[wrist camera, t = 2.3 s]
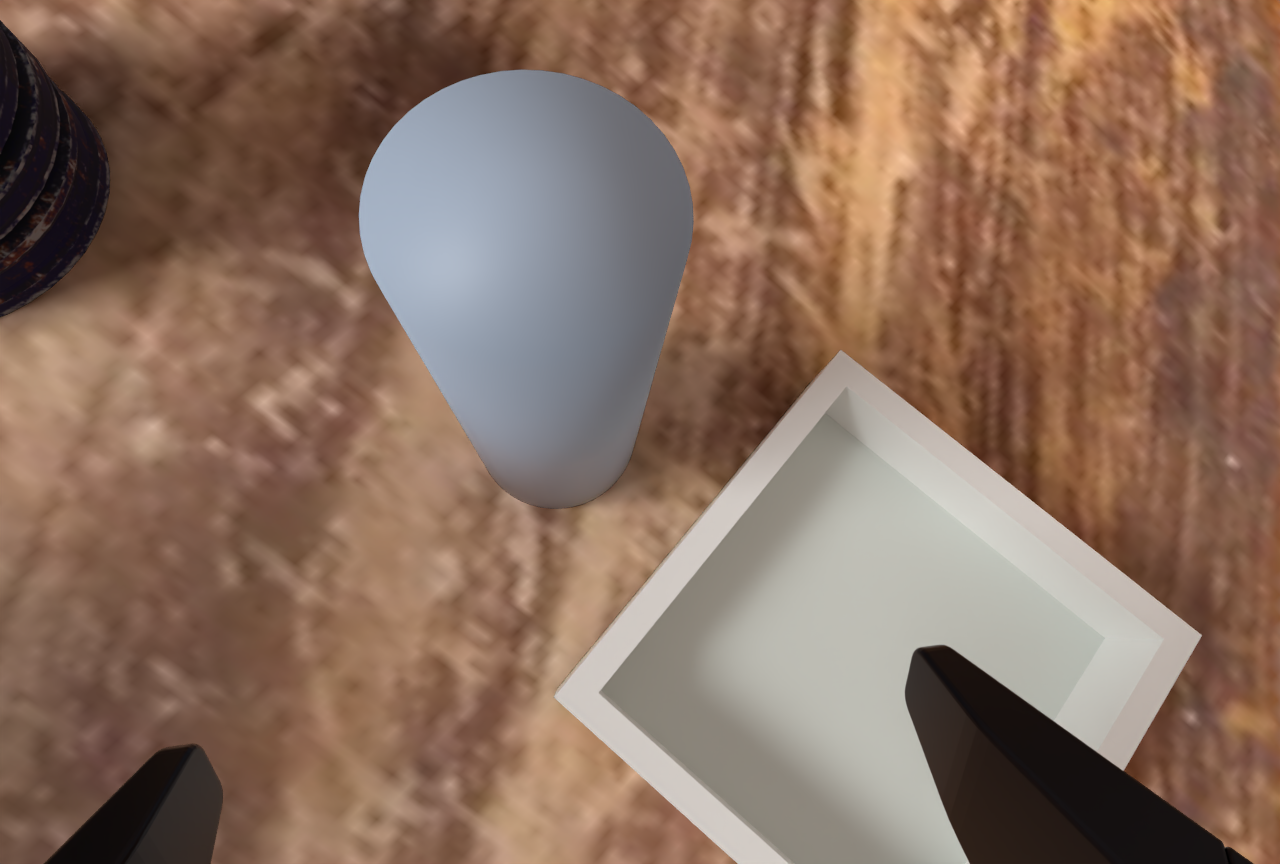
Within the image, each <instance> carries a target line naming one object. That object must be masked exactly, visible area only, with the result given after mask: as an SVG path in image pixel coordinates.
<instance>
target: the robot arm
mask: <svg viewBox="0 0 1280 864" xmlns="http://www.w3.org/2000/svg"><path fill="white" fill-rule="evenodd" d="M905 701H906V705H907V709H908V711H909V714H910V717H911V720H912V722H913V725H914V728H915V730H916V733H917V736H918V739H919V741H920V744H921V747H922V750H923V752H924V755H925V758H926V760H927V763H928V766H929V769H930V771H931V774H932V777H933V779H934V782H935V785H936V788H937V790H938V793H939V796H940V799H941V801H942V804H943V806H944V809H945V811H946V814H947V816H948V819H949V821H950V823H951V826H952V828H953V830H954V832H955V834H956V837H957V839H958V841H959V843H960V845H961V847H962V849H963V851H964V853H965V855H966V857H967V859H968V861H969V863H970V864H1253V863H1252V862H1250V861H1249V860H1248V859H1246V858H1245V857H1243V856H1242V855H1241V854H1239V853H1238V852H1236V851H1235V850H1234V849H1232V848H1230V847H1224V844H1223V843H1222V841H1221V840H1219V839H1218V838H1216V837H1215V836H1214V835H1212V834H1211V833H1209V832H1208V831H1207V830H1205V829H1204V828H1202V827H1201V826H1200V825H1198V824H1197V823H1195V822H1194V821H1193V820H1191V819H1190V818H1188V817H1187V816H1186V815H1184V814H1183V813H1182V812H1180V811H1179V810H1177V809H1176V808H1175V807H1173V806H1172V805H1170V804H1169V803H1168V802H1166V801H1165V800H1163V799H1162V798H1161V797H1159V796H1158V795H1156V794H1155V793H1154V792H1152V791H1151V790H1149V789H1148V788H1147V787H1145V786H1144V785H1142V784H1141V783H1140V782H1138V781H1137V780H1135V779H1134V778H1133V777H1131V776H1130V775H1128V774H1127V773H1126V772H1124V771H1123V770H1121V769H1120V768H1119V767H1117V766H1116V765H1114V764H1113V763H1112V762H1110V761H1109V760H1107V759H1106V758H1105V757H1103V756H1102V755H1100V754H1099V753H1098V752H1096V751H1095V750H1094V749H1092V748H1091V747H1089V746H1088V745H1087V744H1085V743H1084V742H1082V741H1081V740H1080V739H1078V738H1077V737H1075V736H1074V735H1073V734H1071V733H1070V732H1068V731H1067V730H1066V729H1064V728H1063V727H1061V726H1060V725H1059V724H1057V723H1056V722H1054V721H1053V720H1052V719H1050V718H1049V717H1047V716H1046V715H1045V714H1043V713H1042V712H1040V711H1039V710H1038V709H1036V708H1035V707H1033V706H1032V705H1031V704H1029V703H1028V702H1026V701H1025V700H1024V699H1022V698H1021V697H1019V696H1018V695H1017V694H1015V693H1014V692H1013V691H1011V690H1010V689H1008V688H1007V687H1006V686H1004V685H1003V684H1001V683H1000V682H999V681H997V680H996V679H994V678H993V677H992V676H990V675H989V674H987V673H986V672H985V671H983V670H982V669H980V668H979V667H978V666H976V665H975V664H973V663H972V662H971V661H969V660H968V659H966V658H965V657H964V656H962V655H961V654H959V653H958V652H957V651H955V650H954V649H952V648H951V647H949V646H946V645H932V646H925V647H919V648H917V649H916V650H915V651H914V652H913V655H912V658H911V663H910V667H909V672H908V676H907V681H906V685H905ZM222 803H223V790H222V786H221V783H220V780H219V779H218V777H217V775H216V773H215V771H214V769H213V767H212V765H211V763H210V761H209V759H208V757H207V755H206V753H205V751H204V750H203V748H202V747H201V746H199V745H197V744H187V745H179V746H172V747H166V748H163V749H161V750H159V751H158V752H156V753H155V754H154V755H153V756H152V757H151V758H150V759H149V760H148V761H147V762H146V763H145V764H144V765H143V766H142V767H141V768H140V769H139V770H138V771H137V772H136V773H135V774H134V775H133V776H132V777H131V778H130V779H129V780H128V781H127V782H126V783H125V784H124V785H123V786H122V787H121V788H120V789H119V790H118V791H117V792H116V793H115V794H114V795H112V796H111V797H110V798H109V799H108V800H107V801H106V802H105V803H104V804H103V805H102V806H101V807H100V808H99V809H98V810H97V811H96V812H95V813H94V814H93V815H92V816H91V817H90V818H89V819H88V820H87V821H86V822H85V823H84V824H83V825H82V826H81V827H80V828H79V829H78V830H77V831H76V832H75V833H74V834H73V835H72V836H71V837H70V838H69V839H68V840H67V841H66V842H65V843H64V844H63V845H62V846H61V847H60V848H59V849H58V850H57V851H56V852H55V853H54V854H53V855H52V856H51V857H50V858H49V859H48V860H47V861H46V862H45V863H44V864H211V859H212V854H213V849H214V844H215V839H216V834H217V829H218V824H219V819H220V814H221V809H222Z"/></svg>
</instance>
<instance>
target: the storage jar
mask: <svg viewBox="0 0 1280 864" xmlns="http://www.w3.org/2000/svg"><path fill="white" fill-rule="evenodd" d="M109 186H110V170H109V164H108V158H107V153H106V150H105V148H104V145H103V143H102V140H101V137H100V135H99V133H98V132H97V130H96V129H95V127H94V126H93V124H92V122H91V121H90V119H89V118H88V117H87V116H86V115H85V114H84V113H83V112H82V111H81V110H80V109H79V107H78V106H77V105H76V104H75V103H74V102H73V101H72V100H71V99H70V98H69V97H68V96H67V95H66V94H65V93H63V92H62V91H61V90H59V88H58V87H57V85H56V84H55V83H54V82H53V81H52V80H51V79H50V78H49V76H48V75H47V74H46V72H45V71H44V69H43V67H42V66H41V64H40V63H39V61H38V60H37V59H36V58H35V57H34V55H33V54H32V53H31V52H30V51H29V50H28V49H27V48H26V47H25V46H24V45H23V44H22V43H21V42H20V41H19V40H18V39H17V37H16V36H15V35H14V34H13V33H12V32H11V31H10V30H9V29H8V28H7V27H6V26H5V25H4V24H3V23H2V22H1V21H0V317H1V316H4V315H7V314H8V313H10V312H12V311H14V310H16V309H18V308H20V307H22V306H24V305H26V304H28V303H30V302H31V301H33V300H34V299H35V298H37V297H38V296H40V295H41V294H43V293H44V292H46V291H47V290H48V289H50V288H51V287H52V286H53V285H55V284H56V283H57V282H58V281H59V280H60V279H61V278H62V277H63V276H64V275H66V274H67V273H68V272H69V271H70V270H71V269H72V267H73V266H74V265H75V264H76V262H77V261H78V260H79V259H80V258H81V256H82V255H83V254H84V253H85V251H86V250H87V248H88V246H89V245H90V243H91V242H92V240H93V238H94V237H95V235H96V233H97V231H98V229H99V226H100V224H101V221H102V219H103V216H104V214H105V210H106V205H107V201H108V196H109Z"/></svg>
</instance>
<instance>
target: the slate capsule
mask: <svg viewBox="0 0 1280 864" xmlns="http://www.w3.org/2000/svg"><path fill="white" fill-rule="evenodd" d="M359 226H360V237H361V241H362V246H363V251H364V255H365V257H366V260H367V263H368V265H369V268H370V271H371V273H372V275H373V277H374V279H375V280H376V282H377V284H378V286H379V288H380V289H381V291H382V293H383V294H384V296H385V298H386V300H387V301H388V303H389V305H390V306H391V308H392V310H393V311H394V313H395V315H396V316H397V318H398V320H399V322H400V323H401V325H402V327H403V328H404V330H405V332H406V333H407V335H408V337H409V338H410V340H411V342H412V343H413V345H414V347H415V349H416V350H417V352H418V354H419V355H420V357H421V359H422V360H423V362H424V364H425V365H426V367H427V369H428V370H429V372H430V374H431V376H432V377H433V379H434V381H435V382H436V384H437V386H438V387H439V389H440V391H441V392H442V394H443V396H444V398H445V399H446V401H447V403H448V404H449V406H450V408H451V409H452V411H453V413H454V414H455V416H456V418H457V419H458V421H459V423H460V425H461V426H462V428H463V430H464V431H465V433H466V435H467V436H468V438H469V440H470V441H471V443H472V445H473V447H474V448H475V450H476V452H477V453H478V455H479V457H480V458H481V460H482V462H483V463H484V465H485V467H486V468H487V470H488V472H489V474H490V475H491V476H492V478H493V479H494V480H495V482H496V483H497V484H498V485H499V486H500V487H501V488H502V489H503V490H505V491H506V492H507V493H509V494H510V495H511V496H513V497H515V498H517V499H518V500H520V501H522V502H525V503H527V504H530V505H533V506H537V507H542V508H550V509H562V508H569V507H574V506H578V505H582V504H584V503H587V502H589V501H591V500H593V499H595V498H597V497H599V496H600V495H602V494H603V493H604V492H606V491H607V490H608V489H609V488H610V487H611V486H612V485H613V484H614V483H615V482H616V481H617V480H618V479H619V478H620V476H621V475H622V474H623V472H624V470H625V468H626V467H627V465H628V463H629V460H630V458H631V455H632V452H633V448H634V445H635V441H636V438H637V434H638V431H639V427H640V424H641V420H642V416H643V413H644V409H645V406H646V402H647V399H648V395H649V392H650V388H651V385H652V381H653V378H654V374H655V371H656V367H657V364H658V360H659V356H660V353H661V349H662V346H663V342H664V339H665V335H666V332H667V328H668V325H669V321H670V318H671V314H672V311H673V307H674V304H675V300H676V296H677V293H678V289H679V286H680V282H681V279H682V275H683V272H684V268H685V265H686V261H687V257H688V253H689V249H690V246H691V241H692V232H693V203H692V198H691V192H690V187H689V183H688V180H687V177H686V174H685V171H684V168H683V166H682V164H681V162H680V160H679V158H678V156H677V154H676V152H675V150H674V149H673V147H672V146H671V144H670V143H669V141H668V140H667V138H666V137H665V135H664V134H663V133H662V132H661V131H660V129H659V128H658V127H657V126H656V125H655V124H654V123H653V122H652V120H651V119H649V118H648V117H647V116H646V115H645V114H644V113H643V112H641V111H640V110H639V109H638V108H637V107H636V106H634V105H633V104H631V103H630V102H628V101H627V100H625V99H624V98H623V97H621V96H620V95H618V94H616V93H614V92H612V91H610V90H608V89H606V88H604V87H603V86H600V85H598V84H595V83H592V82H590V81H587V80H585V79H582V78H578V77H574V76H570V75H567V74H563V73H556V72H549V71H543V70H511V71H499V72H494V73H489V74H483V75H479V76H476V77H472V78H469V79H466V80H462V81H460V82H457V83H455V84H453V85H451V86H448V87H446V88H444V89H442V90H440V91H438V92H436V93H435V94H433V95H431V96H430V97H428V98H426V99H424V100H423V101H422V102H421V103H419V104H418V105H417V106H415V107H414V108H413V109H411V110H410V111H409V112H408V113H407V114H406V115H405V116H404V117H403V118H402V119H401V120H400V121H399V122H398V123H397V124H395V125H394V127H393V128H392V129H391V131H390V132H389V133H388V134H387V136H386V137H385V138H384V140H383V141H382V143H381V144H380V146H379V148H378V149H377V151H376V153H375V155H374V156H373V158H372V160H371V163H370V165H369V168H368V170H367V173H366V175H365V179H364V183H363V187H362V191H361V196H360V207H359Z"/></svg>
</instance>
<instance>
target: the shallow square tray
mask: <svg viewBox="0 0 1280 864" xmlns="http://www.w3.org/2000/svg"><path fill="white" fill-rule="evenodd" d="M1201 636H1202V635H1201V634H1200V633H1198V632H1197V631H1196V630H1195V629H1193V628H1192V627H1191V626H1189V625H1188V624H1187V623H1186V622H1184V621H1183V620H1182V619H1181V618H1179V617H1178V616H1177V615H1176V614H1174V613H1173V612H1172V611H1171V610H1169V609H1168V608H1167V607H1165V606H1164V605H1163V604H1162V603H1160V602H1159V601H1158V600H1157V599H1155V598H1154V597H1153V596H1152V595H1150V594H1149V593H1148V592H1146V591H1145V590H1144V589H1143V588H1141V587H1140V586H1139V585H1138V584H1136V583H1135V582H1134V581H1133V580H1131V579H1130V578H1129V577H1128V576H1126V575H1125V574H1124V573H1122V572H1121V571H1120V570H1119V569H1117V568H1116V567H1115V566H1114V565H1112V564H1111V563H1110V562H1109V561H1107V560H1106V559H1105V558H1103V557H1102V556H1101V555H1100V554H1098V553H1097V552H1096V551H1095V550H1093V549H1092V548H1091V547H1090V546H1088V545H1087V544H1086V543H1085V542H1083V541H1082V540H1081V539H1079V538H1078V537H1077V536H1076V535H1074V534H1073V533H1072V532H1071V531H1069V530H1068V529H1067V528H1066V527H1064V526H1063V525H1062V524H1061V523H1059V522H1058V521H1057V520H1055V519H1054V518H1053V517H1052V516H1050V515H1049V514H1048V513H1047V512H1045V511H1044V510H1043V509H1042V508H1040V507H1039V506H1038V505H1036V504H1035V503H1034V502H1033V501H1031V500H1030V499H1029V498H1028V497H1026V496H1025V495H1024V494H1023V493H1021V492H1020V491H1019V490H1018V489H1016V488H1015V487H1014V486H1012V485H1011V484H1010V483H1009V482H1007V481H1006V480H1005V479H1004V478H1002V477H1001V476H1000V475H999V474H997V473H996V472H995V471H993V470H992V469H991V468H990V467H988V466H987V465H986V464H985V463H983V462H982V461H981V460H980V459H978V458H977V457H976V456H975V455H973V454H972V453H971V452H969V451H968V450H967V449H966V448H964V447H963V446H962V445H961V444H959V443H958V442H957V441H956V440H954V439H953V438H952V437H951V436H949V435H948V434H947V433H945V432H944V431H943V430H942V429H940V428H939V427H938V426H937V425H935V424H934V423H933V422H932V421H930V420H929V419H928V418H926V417H925V416H924V415H923V414H921V413H920V412H919V411H918V410H916V409H915V408H914V407H913V406H911V405H910V404H909V403H908V402H906V401H905V400H904V399H902V398H901V397H900V396H899V395H897V394H896V393H895V392H894V391H892V390H891V389H890V388H889V387H887V386H886V385H885V384H883V383H882V382H881V381H880V380H878V379H877V378H876V377H875V376H873V375H872V374H871V373H870V372H868V371H867V370H866V369H865V368H863V367H862V366H861V365H859V364H858V363H857V362H856V361H854V360H853V359H852V358H851V357H849V356H848V355H847V354H846V353H844V352H843V351H842V350H840V351H839V352H838V353H837V354H836V355H835V357H834V358H833V359H832V360H831V361H830V362H829V363H828V364H827V365H826V366H825V367H824V368H823V369H822V371H821V372H820V373H819V374H818V375H817V376H816V377H815V378H814V379H813V380H812V381H811V382H810V384H809V385H808V386H807V387H806V389H805V390H804V391H803V392H802V393H801V395H800V396H799V397H798V398H797V399H796V401H795V402H794V403H793V404H792V405H791V407H790V408H789V409H788V410H787V411H786V413H785V414H784V415H783V416H782V418H781V419H780V420H779V421H778V422H777V424H776V425H775V426H774V427H773V428H772V430H771V431H770V432H769V433H768V434H767V436H766V437H765V438H764V439H763V440H762V442H761V443H760V444H759V445H758V447H757V448H756V449H755V450H754V451H753V453H752V454H751V455H750V456H749V457H748V459H747V460H746V461H745V462H744V463H743V465H742V466H741V467H740V468H739V469H738V471H737V472H736V473H735V474H734V476H733V477H732V478H731V479H730V480H729V482H728V483H727V484H726V485H725V486H724V488H723V489H722V490H721V491H720V492H719V494H718V495H717V496H716V497H715V498H714V500H713V501H712V502H711V503H710V505H709V506H708V507H707V508H706V509H705V511H704V512H703V513H702V514H701V515H700V517H699V518H698V519H697V520H696V521H695V523H694V524H693V525H692V526H691V527H690V529H689V530H688V531H687V532H686V534H685V535H684V536H683V537H682V538H681V540H680V541H679V542H678V543H677V544H676V546H675V547H674V548H673V549H672V550H671V552H670V553H669V554H668V555H667V556H666V558H665V559H664V560H663V561H662V563H661V564H660V565H659V566H658V567H657V569H656V570H655V571H654V572H653V573H652V575H651V576H650V577H649V578H648V579H647V581H646V582H645V583H644V584H643V585H642V587H641V588H640V589H639V590H638V592H637V593H636V594H635V595H634V596H633V598H632V599H631V600H630V601H629V602H628V604H627V605H626V606H625V607H624V608H623V610H622V611H621V612H620V613H619V614H618V616H617V617H616V618H615V619H614V621H613V622H612V623H611V624H610V625H609V627H608V628H607V629H606V630H605V631H604V633H603V634H602V635H601V636H600V637H599V639H598V640H597V641H596V642H595V643H594V645H593V646H592V647H591V648H590V650H589V651H588V652H587V653H586V654H585V656H584V657H583V658H582V659H581V660H580V662H579V663H578V664H577V665H576V666H575V668H574V669H573V670H572V671H571V672H570V674H569V675H568V676H567V677H566V678H565V680H564V681H563V682H562V683H561V685H560V686H559V687H558V688H557V690H556V693H555V695H554V698H555V699H556V700H557V701H558V702H560V703H561V704H562V705H563V706H564V707H565V708H566V709H567V710H568V711H570V712H571V713H572V714H573V715H574V716H575V717H576V718H577V719H578V720H579V721H581V722H582V723H583V724H584V725H585V726H586V727H587V728H588V729H589V730H591V731H592V732H593V733H594V734H595V735H596V736H597V737H598V738H599V739H600V740H602V741H603V742H604V743H605V744H606V745H607V746H608V747H609V748H610V749H612V750H613V751H614V752H615V753H616V754H617V755H618V756H619V757H620V758H622V759H623V760H624V761H625V762H626V763H627V764H628V765H629V766H630V767H631V768H633V769H634V770H635V771H636V772H637V773H638V774H639V775H640V776H641V777H643V778H644V779H645V780H646V781H647V782H648V783H649V784H650V785H651V786H652V787H654V788H655V789H656V790H657V791H658V792H659V793H660V794H661V795H662V796H664V797H665V798H666V799H667V800H668V801H669V802H670V803H671V804H672V805H673V806H675V807H676V808H677V809H678V810H679V811H680V812H681V813H682V814H683V815H685V816H686V817H687V818H688V819H689V820H690V821H691V822H692V823H693V824H695V825H696V826H697V827H698V828H699V829H700V830H701V831H702V832H703V833H704V834H706V835H707V836H708V837H709V838H710V839H711V840H712V841H713V842H714V843H716V844H717V845H718V846H719V847H720V848H721V849H722V850H723V851H724V852H725V853H727V854H728V855H729V856H730V857H731V858H732V859H733V860H734V861H735V862H737V863H738V864H970V863H969V861H968V859H967V857H966V855H965V853H964V851H963V849H962V847H961V845H960V843H959V841H958V839H957V837H956V834H955V832H954V830H953V828H952V826H951V823H950V821H949V819H948V816H947V814H946V811H945V809H944V806H943V804H942V801H941V799H940V796H939V793H938V790H937V788H936V785H935V782H934V779H933V777H932V774H931V771H930V769H929V766H928V763H927V760H926V758H925V755H924V752H923V750H922V747H921V744H920V741H919V739H918V736H917V733H916V730H915V728H914V725H913V722H912V720H911V717H910V714H909V711H908V709H907V705H906V701H905V685H906V681H907V676H908V672H909V667H910V663H911V658H912V655H913V652H914V651H915V650H916V649H917V648H919V647H925V646H932V645H946V646H949V647H951V648H952V649H954V650H955V651H957V652H958V653H959V654H961V655H962V656H964V657H965V658H966V659H968V660H969V661H971V662H972V663H973V664H975V665H976V666H978V667H979V668H980V669H982V670H983V671H985V672H986V673H987V674H989V675H990V676H992V677H993V678H994V679H996V680H997V681H999V682H1000V683H1001V684H1003V685H1004V686H1006V687H1007V688H1008V689H1010V690H1011V691H1013V692H1014V693H1015V694H1017V695H1018V696H1019V697H1021V698H1022V699H1024V700H1025V701H1026V702H1028V703H1029V704H1031V705H1032V706H1033V707H1035V708H1036V709H1038V710H1039V711H1040V712H1042V713H1043V714H1045V715H1046V716H1047V717H1049V718H1050V719H1052V720H1053V721H1054V722H1056V723H1057V724H1059V725H1060V726H1061V727H1063V728H1064V729H1066V730H1067V731H1068V732H1070V733H1071V734H1073V735H1074V736H1075V737H1077V738H1078V739H1080V740H1081V741H1082V742H1084V743H1085V744H1087V745H1088V746H1089V747H1091V748H1092V749H1094V750H1095V751H1096V752H1098V753H1099V754H1100V755H1102V756H1103V757H1105V758H1106V759H1107V760H1109V761H1110V762H1112V763H1113V764H1114V765H1116V766H1117V767H1119V768H1120V769H1121V770H1123V771H1124V769H1125V767H1126V766H1127V764H1128V762H1129V761H1130V759H1131V757H1132V755H1133V754H1134V752H1135V750H1136V749H1137V747H1138V745H1139V743H1140V742H1141V740H1142V738H1143V736H1144V735H1145V733H1146V731H1147V730H1148V728H1149V726H1150V724H1151V723H1152V721H1153V719H1154V717H1155V716H1156V714H1157V712H1158V711H1159V709H1160V707H1161V705H1162V704H1163V702H1164V700H1165V698H1166V697H1167V695H1168V693H1169V692H1170V690H1171V688H1172V686H1173V685H1174V683H1175V681H1176V680H1177V678H1178V676H1179V674H1180V673H1181V671H1182V669H1183V667H1184V666H1185V664H1186V662H1187V661H1188V659H1189V657H1190V655H1191V654H1192V652H1193V650H1194V648H1195V647H1196V645H1197V643H1198V642H1199V640H1200V638H1201Z"/></svg>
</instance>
